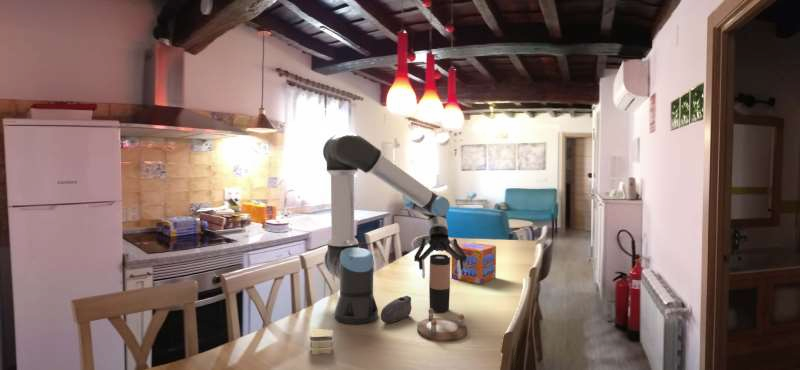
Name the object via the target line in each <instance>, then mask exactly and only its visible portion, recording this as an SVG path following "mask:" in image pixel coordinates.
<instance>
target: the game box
mask: <svg viewBox="0 0 800 370" xmlns="http://www.w3.org/2000/svg"><path fill="white" fill-rule="evenodd" d="M458 245H459V246H460V248H461V249H462V251H463V252H464V253H465V255H466V256H467V260H466V262H463V270H461V279H459V278H458V269H457V260H456V259H454V258H453V257H452V256H451V279H453V280H459V281H461V282H462V281H463V282H467V283H472V284H476V285H477V284H478V285H481V284H484V283H486V282H489V281H491V280H493V279H495V278H497V277H496V275H497V273H496V271H497V269H496V268H497V246H496V245H494V244H493V245H492V244H485V243H479V242H470V241H467V242H464V243H460V244H459V243H458ZM451 248H452V249H453V250H454V251H455V252H456V253H457V251H456V250H455V248H454V246H452V245H451ZM457 254H458V253H457ZM458 255H459V254H458Z"/></svg>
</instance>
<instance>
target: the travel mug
mask: <svg viewBox="0 0 800 370" xmlns="http://www.w3.org/2000/svg"><path fill="white" fill-rule="evenodd" d="M428 276H429V278H428V279H429V281H428V282H429V283H428V284H429V286H428V290H429V292H428V293H429V297H428V298H429V309H430V308H432V309H433V310H434V312H433V313H437V314H438V313H439V314H445V313H447V312H449V311H450V310H449V309H450V292H451V290H450V289H451V257H450V256H449V255H447V254H441V253H439V254H437V253H434V254H430V256H429V275H428Z"/></svg>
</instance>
